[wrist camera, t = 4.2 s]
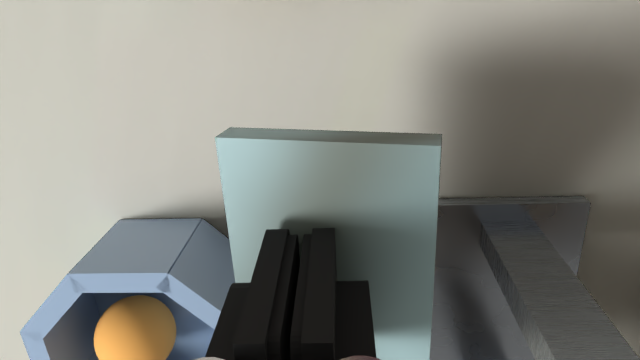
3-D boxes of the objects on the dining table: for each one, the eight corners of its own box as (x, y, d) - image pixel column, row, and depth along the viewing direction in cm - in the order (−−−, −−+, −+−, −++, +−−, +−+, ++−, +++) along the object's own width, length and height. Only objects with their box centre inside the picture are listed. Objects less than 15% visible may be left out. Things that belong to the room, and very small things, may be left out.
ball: (76, 337, 17) (94, 287, 20) (96, 402, 19) (110, 346, 21) (166, 320, 18) (171, 274, 21) (180, 384, 19) (183, 332, 22)
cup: (261, 217, 20) (241, 272, 16) (278, 375, 23) (265, 451, 19) (62, 220, 20) (-2, 274, 16) (107, 373, 23) (62, 447, 20)
